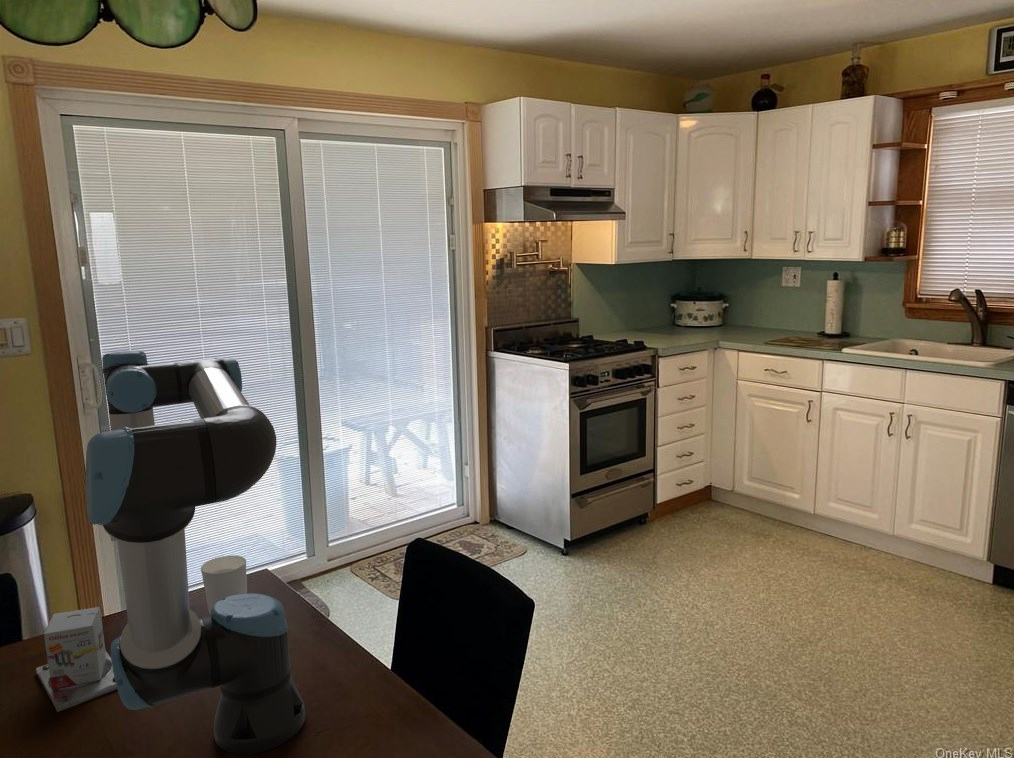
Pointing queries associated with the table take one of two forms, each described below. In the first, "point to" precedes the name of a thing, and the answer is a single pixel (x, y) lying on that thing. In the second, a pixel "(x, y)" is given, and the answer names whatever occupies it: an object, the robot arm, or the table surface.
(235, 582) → the candle holder
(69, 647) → the ink box
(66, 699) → the flange
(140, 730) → the table surface
